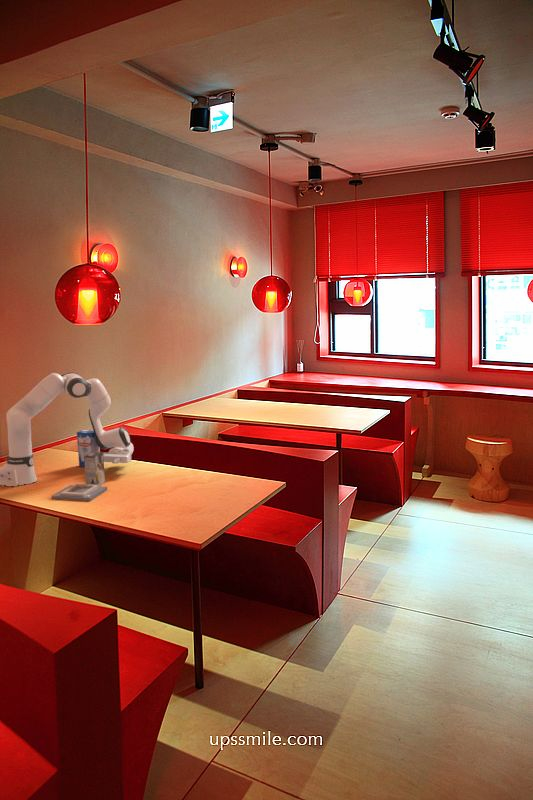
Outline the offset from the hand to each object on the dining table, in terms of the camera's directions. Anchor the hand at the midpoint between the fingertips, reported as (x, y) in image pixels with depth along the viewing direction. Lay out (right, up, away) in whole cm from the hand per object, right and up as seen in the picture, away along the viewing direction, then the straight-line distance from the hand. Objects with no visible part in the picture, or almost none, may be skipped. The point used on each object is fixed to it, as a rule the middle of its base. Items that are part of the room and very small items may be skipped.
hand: (105, 461), depth 325 cm
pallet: (-5, -13, -26) cm, 29 cm away
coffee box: (-2, -11, -10) cm, 15 cm away
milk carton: (-15, -5, +26) cm, 30 cm away
